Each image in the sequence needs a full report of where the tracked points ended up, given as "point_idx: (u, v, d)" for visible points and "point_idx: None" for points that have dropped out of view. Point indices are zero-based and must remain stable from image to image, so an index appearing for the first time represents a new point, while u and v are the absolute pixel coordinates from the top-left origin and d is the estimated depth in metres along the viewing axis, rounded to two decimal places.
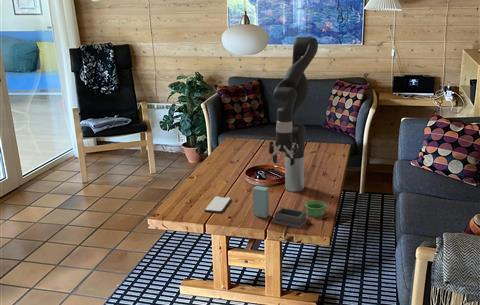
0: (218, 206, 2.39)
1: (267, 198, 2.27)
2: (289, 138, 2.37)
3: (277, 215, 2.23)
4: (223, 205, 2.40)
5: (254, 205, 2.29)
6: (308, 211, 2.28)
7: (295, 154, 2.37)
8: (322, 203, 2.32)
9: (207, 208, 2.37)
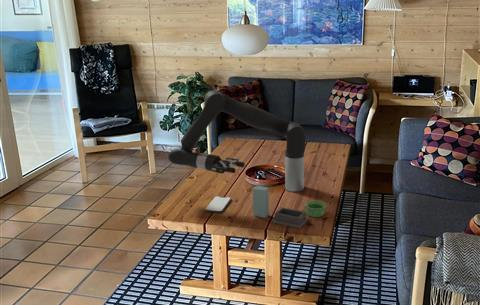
0: (218, 206, 2.39)
1: (267, 198, 2.27)
2: (211, 169, 2.34)
3: (277, 215, 2.23)
4: (223, 205, 2.40)
5: (254, 205, 2.29)
6: (308, 211, 2.28)
7: None
8: (322, 203, 2.32)
9: (207, 208, 2.37)
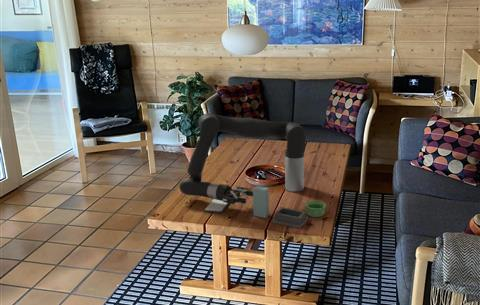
0: (218, 206, 2.39)
1: (267, 198, 2.27)
2: (221, 199, 2.35)
3: (277, 215, 2.23)
4: (223, 205, 2.40)
5: (254, 205, 2.29)
6: (308, 211, 2.28)
7: None
8: (322, 203, 2.32)
9: (207, 208, 2.37)
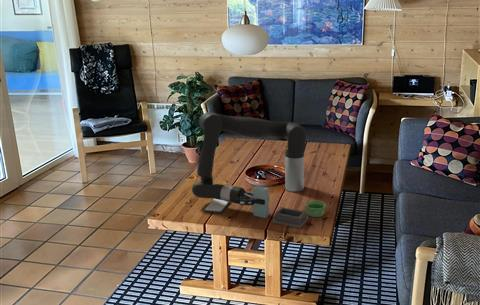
0: (218, 206, 2.39)
1: (267, 198, 2.27)
2: (235, 201, 2.32)
3: (277, 215, 2.23)
4: (223, 205, 2.40)
5: (254, 205, 2.29)
6: (308, 211, 2.28)
7: None
8: (322, 203, 2.32)
9: (207, 209, 2.37)
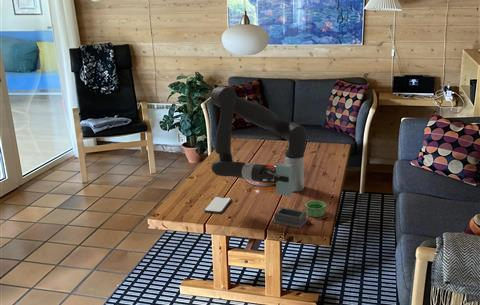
0: (218, 206, 2.39)
1: (291, 175, 2.18)
2: (257, 179, 2.23)
3: (277, 215, 2.23)
4: (223, 206, 2.39)
5: (277, 183, 2.20)
6: (308, 211, 2.28)
7: None
8: (322, 203, 2.32)
9: (207, 209, 2.37)
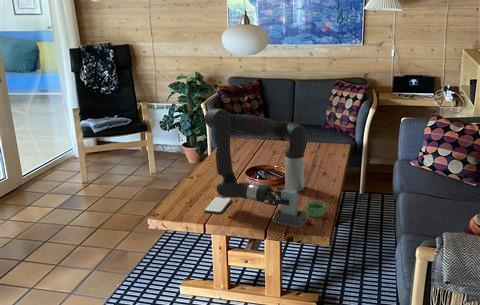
0: (218, 207, 2.38)
1: (295, 201, 2.21)
2: (262, 200, 2.24)
3: (277, 215, 2.23)
4: (223, 206, 2.39)
5: (282, 208, 2.22)
6: (308, 211, 2.28)
7: None
8: (322, 203, 2.32)
9: (207, 209, 2.37)
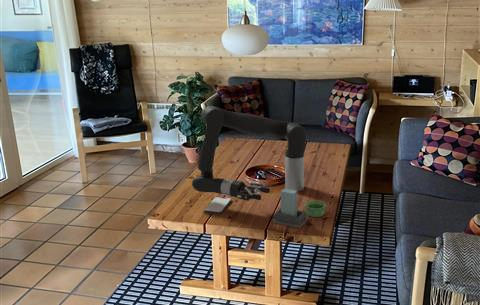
0: (218, 207, 2.38)
1: (295, 201, 2.21)
2: (235, 195, 2.31)
3: (277, 215, 2.23)
4: (223, 206, 2.39)
5: (282, 208, 2.22)
6: (308, 211, 2.28)
7: None
8: (322, 203, 2.32)
9: (207, 209, 2.37)
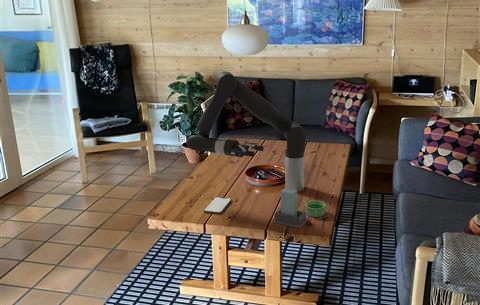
0: (218, 207, 2.38)
1: (295, 201, 2.21)
2: (229, 153, 2.32)
3: (277, 215, 2.23)
4: (223, 206, 2.39)
5: (282, 208, 2.22)
6: (308, 211, 2.28)
7: None
8: (322, 203, 2.32)
9: (207, 209, 2.36)
